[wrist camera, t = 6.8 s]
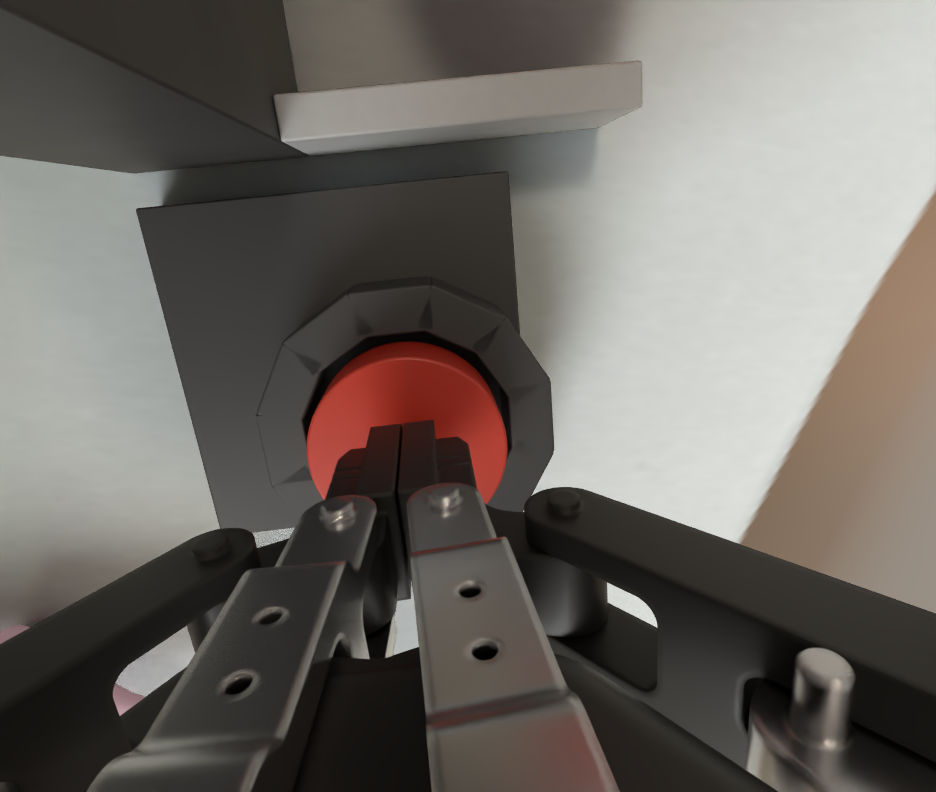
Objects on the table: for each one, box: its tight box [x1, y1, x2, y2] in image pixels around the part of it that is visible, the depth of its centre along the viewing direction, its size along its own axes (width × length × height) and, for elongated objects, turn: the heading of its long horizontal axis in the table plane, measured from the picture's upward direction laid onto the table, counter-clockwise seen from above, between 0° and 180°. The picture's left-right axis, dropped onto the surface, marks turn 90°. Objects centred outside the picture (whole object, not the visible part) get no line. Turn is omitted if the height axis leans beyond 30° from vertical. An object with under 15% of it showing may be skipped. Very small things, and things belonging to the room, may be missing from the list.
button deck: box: [136, 171, 554, 533], centre depth 17 cm, size 10×10×4 cm
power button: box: [307, 341, 507, 504], centre depth 15 cm, size 5×5×2 cm
